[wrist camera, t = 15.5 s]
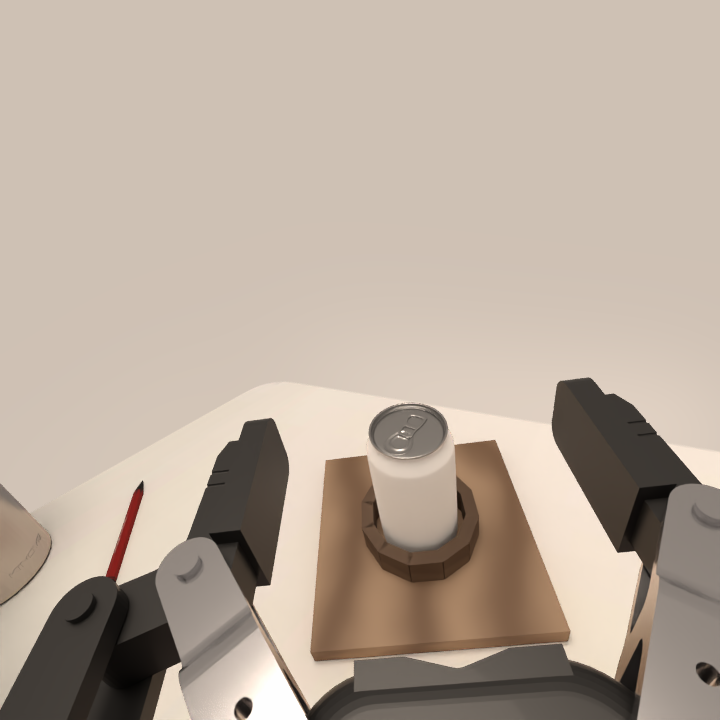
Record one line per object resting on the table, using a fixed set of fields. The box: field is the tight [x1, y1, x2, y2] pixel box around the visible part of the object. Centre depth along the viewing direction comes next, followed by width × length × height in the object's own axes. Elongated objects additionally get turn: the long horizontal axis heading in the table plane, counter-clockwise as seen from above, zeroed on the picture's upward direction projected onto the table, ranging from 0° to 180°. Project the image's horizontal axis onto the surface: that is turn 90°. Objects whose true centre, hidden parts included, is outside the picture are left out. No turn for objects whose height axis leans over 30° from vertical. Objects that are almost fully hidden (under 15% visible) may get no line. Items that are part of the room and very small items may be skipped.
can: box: [367, 403, 458, 552], centre depth 32 cm, size 6×6×12 cm
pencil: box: [106, 481, 143, 583], centre depth 42 cm, size 1×14×1 cm, turn 11°
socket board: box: [310, 440, 570, 661], centre depth 36 cm, size 18×18×4 cm
